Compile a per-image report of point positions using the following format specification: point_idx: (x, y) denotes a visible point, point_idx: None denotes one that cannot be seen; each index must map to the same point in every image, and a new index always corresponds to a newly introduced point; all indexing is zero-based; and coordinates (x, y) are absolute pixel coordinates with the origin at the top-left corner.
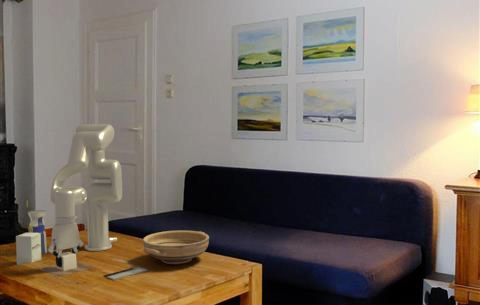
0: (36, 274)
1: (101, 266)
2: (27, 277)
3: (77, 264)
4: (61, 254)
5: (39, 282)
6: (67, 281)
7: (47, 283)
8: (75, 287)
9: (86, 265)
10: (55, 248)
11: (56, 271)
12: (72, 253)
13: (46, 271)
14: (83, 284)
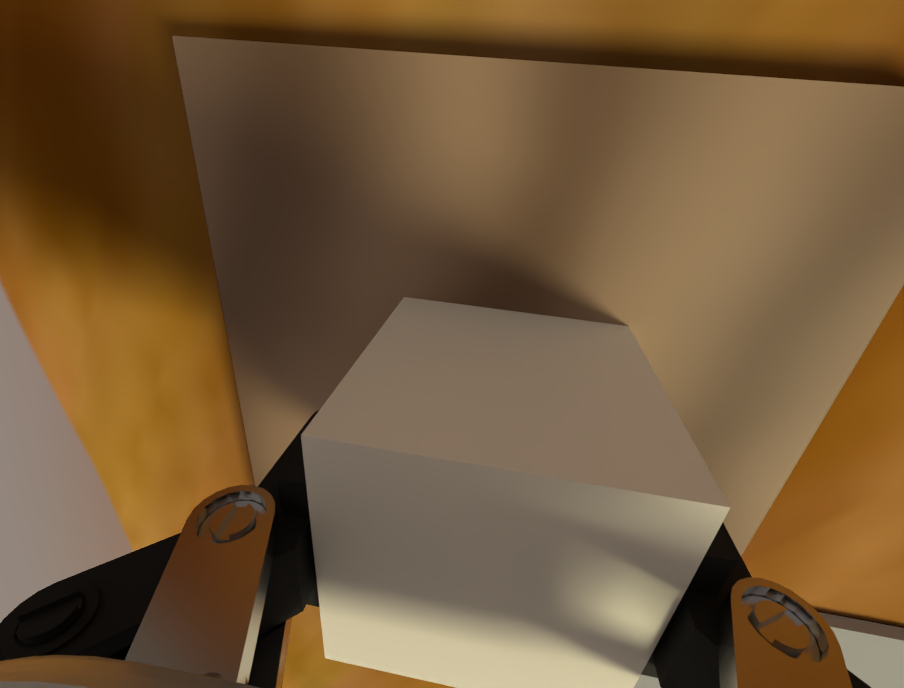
0: (172, 131)
1: (895, 543)
2: (49, 160)
3: (729, 391)
4: (403, 524)
5: (137, 423)
6: None
7: (188, 493)
8: (307, 668)
9: (732, 519)
10: (92, 678)
11: None
12: (622, 652)
13: (232, 307)
14: (373, 675)
